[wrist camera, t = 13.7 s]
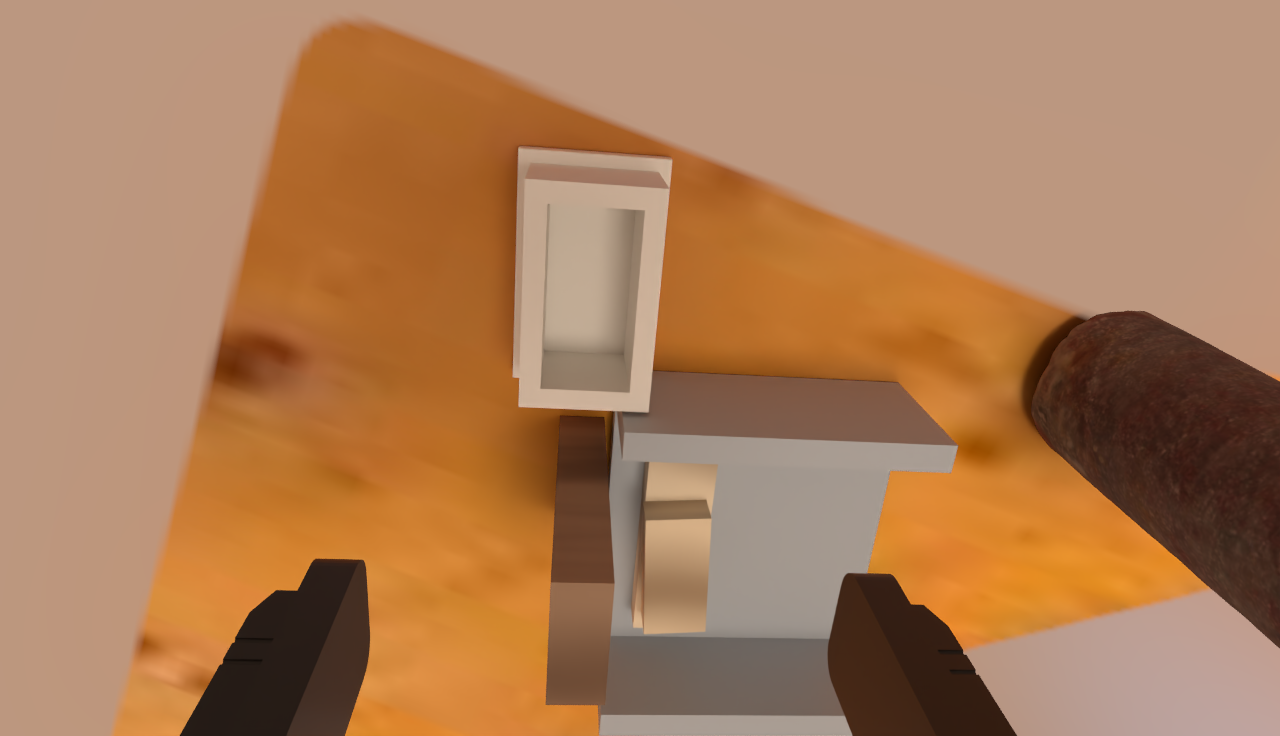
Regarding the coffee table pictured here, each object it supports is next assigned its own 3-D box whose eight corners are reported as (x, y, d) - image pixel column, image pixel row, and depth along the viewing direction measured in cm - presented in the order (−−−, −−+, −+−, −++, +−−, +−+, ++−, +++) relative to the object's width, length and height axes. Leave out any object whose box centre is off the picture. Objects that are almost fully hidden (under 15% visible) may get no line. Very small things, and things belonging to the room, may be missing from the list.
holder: (519, 145, 31) (510, 162, 27) (670, 157, 32) (685, 175, 27) (513, 370, 35) (504, 418, 30) (649, 376, 35) (660, 424, 31)
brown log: (1113, 470, 39) (1591, 852, 21) (988, 429, 38) (1382, 798, 19) (1203, 333, 37) (1841, 628, 18) (1073, 283, 35) (1620, 548, 17)
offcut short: (642, 501, 35) (645, 520, 33) (706, 499, 35) (711, 518, 33) (641, 612, 37) (643, 634, 36) (700, 609, 37) (705, 631, 36)
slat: (560, 415, 36) (550, 582, 25) (604, 417, 36) (614, 583, 25) (555, 510, 38) (546, 704, 27) (598, 511, 38) (605, 705, 27)
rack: (616, 369, 35) (624, 432, 29) (898, 382, 36) (958, 445, 31) (595, 638, 41) (599, 735, 35) (840, 641, 42) (882, 735, 36)
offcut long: (646, 442, 35) (649, 459, 34) (712, 445, 36) (718, 461, 34) (630, 606, 39) (632, 627, 37) (691, 607, 39) (695, 628, 38)
